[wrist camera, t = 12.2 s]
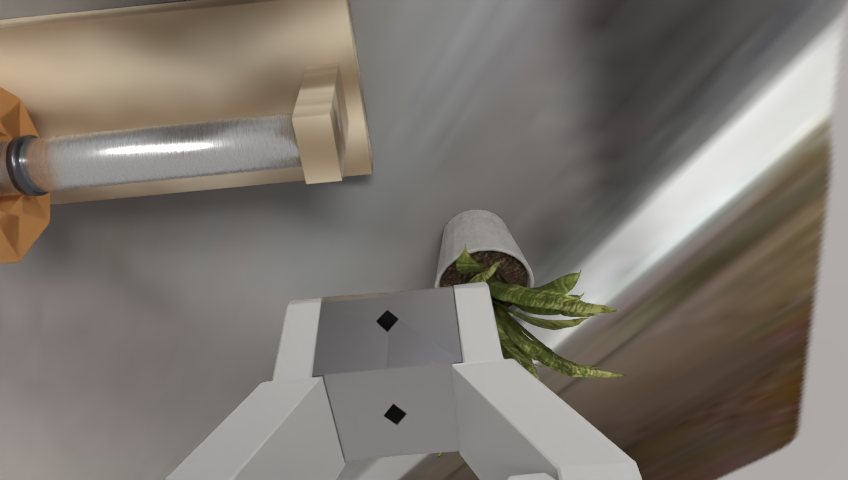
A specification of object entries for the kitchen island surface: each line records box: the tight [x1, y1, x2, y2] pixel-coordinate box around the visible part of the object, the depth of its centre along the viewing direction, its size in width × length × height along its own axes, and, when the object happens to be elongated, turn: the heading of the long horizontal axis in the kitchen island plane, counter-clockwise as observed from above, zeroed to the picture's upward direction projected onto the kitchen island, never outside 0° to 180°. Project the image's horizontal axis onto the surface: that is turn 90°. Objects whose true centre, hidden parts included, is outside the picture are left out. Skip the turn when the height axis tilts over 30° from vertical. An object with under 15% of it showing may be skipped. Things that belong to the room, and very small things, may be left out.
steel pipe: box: [0, 109, 341, 197], centre depth 36 cm, size 3×26×3 cm, turn 95°
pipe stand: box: [0, 0, 373, 205], centre depth 38 cm, size 12×28×10 cm, turn 95°
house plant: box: [434, 209, 626, 459], centre depth 44 cm, size 14×14×16 cm
